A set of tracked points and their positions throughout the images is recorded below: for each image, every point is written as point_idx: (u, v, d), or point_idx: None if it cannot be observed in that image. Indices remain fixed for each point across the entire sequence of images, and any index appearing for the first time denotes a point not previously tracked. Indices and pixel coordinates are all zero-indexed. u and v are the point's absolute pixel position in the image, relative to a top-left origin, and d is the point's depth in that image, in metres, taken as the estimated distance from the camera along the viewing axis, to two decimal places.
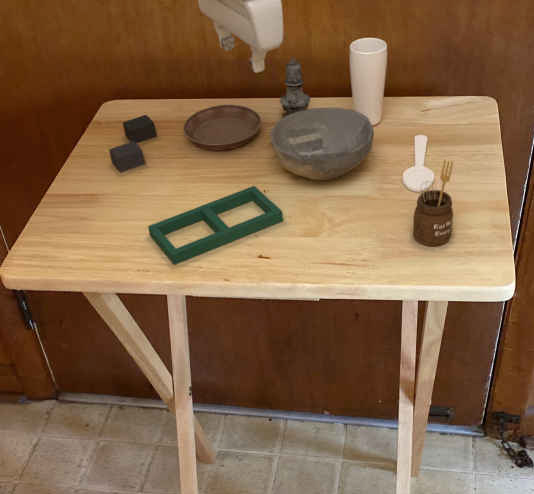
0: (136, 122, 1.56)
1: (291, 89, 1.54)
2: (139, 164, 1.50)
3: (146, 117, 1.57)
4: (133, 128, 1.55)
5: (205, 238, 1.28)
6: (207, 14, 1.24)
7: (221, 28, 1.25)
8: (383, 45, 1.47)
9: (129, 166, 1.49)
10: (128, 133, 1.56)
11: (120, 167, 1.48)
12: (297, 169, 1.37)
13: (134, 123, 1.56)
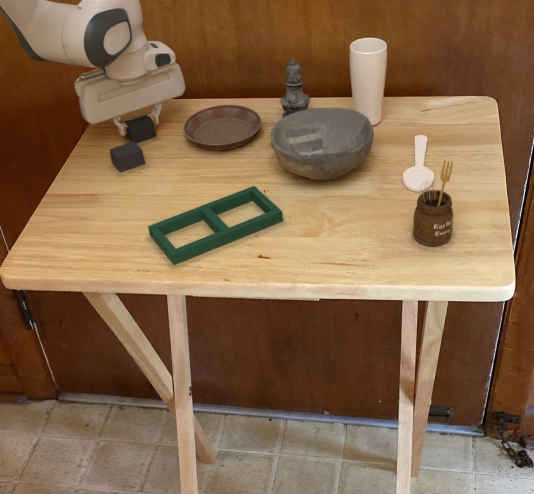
0: (136, 122, 1.56)
1: (291, 89, 1.54)
2: (139, 164, 1.50)
3: (146, 117, 1.57)
4: (133, 128, 1.55)
5: (205, 238, 1.28)
6: (105, 118, 1.50)
7: None
8: (383, 45, 1.47)
9: (129, 166, 1.49)
10: None
11: (120, 167, 1.48)
12: (297, 169, 1.37)
13: (134, 123, 1.56)
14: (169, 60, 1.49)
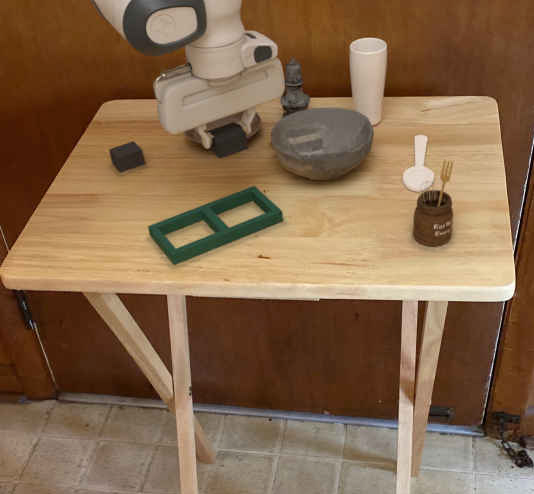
0: (223, 132, 1.26)
1: (291, 89, 1.54)
2: (139, 164, 1.50)
3: (235, 125, 1.27)
4: (221, 139, 1.24)
5: (205, 238, 1.28)
6: (189, 127, 1.20)
7: None
8: (383, 45, 1.47)
9: (129, 166, 1.49)
10: None
11: (120, 167, 1.48)
12: (297, 169, 1.37)
13: (221, 133, 1.26)
14: (270, 54, 1.18)
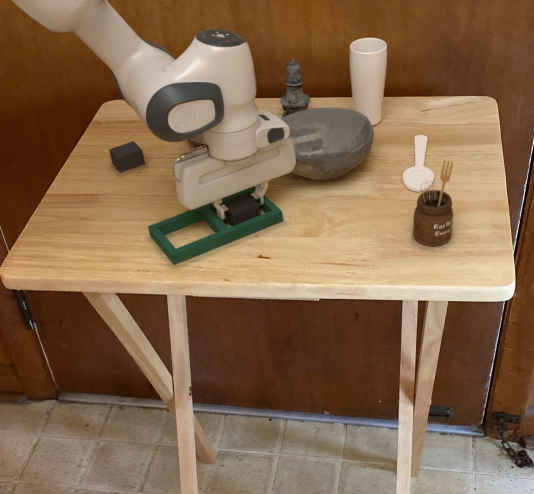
0: (238, 203, 1.33)
1: (291, 89, 1.54)
2: (139, 164, 1.50)
3: (248, 197, 1.34)
4: (235, 211, 1.32)
5: (205, 238, 1.28)
6: (205, 202, 1.27)
7: None
8: (383, 45, 1.47)
9: (129, 166, 1.49)
10: None
11: (120, 167, 1.48)
12: (297, 169, 1.37)
13: (235, 204, 1.33)
14: (283, 135, 1.26)
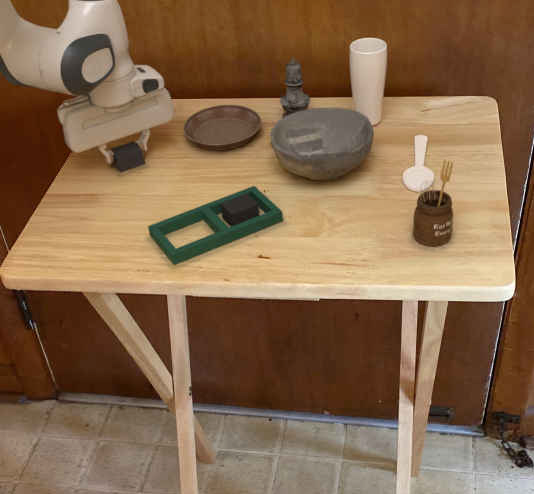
0: (237, 203, 1.33)
1: (291, 89, 1.54)
2: (139, 164, 1.50)
3: (247, 197, 1.34)
4: (235, 211, 1.32)
5: (205, 238, 1.28)
6: (90, 146, 1.43)
7: None
8: (383, 45, 1.47)
9: (129, 166, 1.49)
10: (227, 216, 1.33)
11: (120, 167, 1.48)
12: (297, 169, 1.37)
13: (234, 204, 1.33)
14: (157, 85, 1.41)
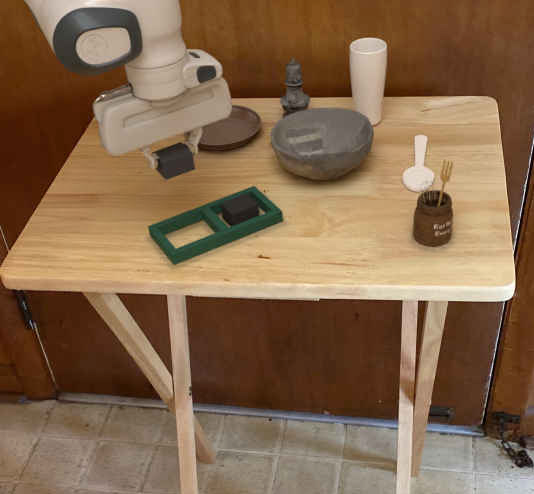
0: (237, 204, 1.33)
1: (291, 89, 1.54)
2: (188, 170, 1.24)
3: (247, 197, 1.34)
4: (235, 211, 1.32)
5: (205, 238, 1.28)
6: (131, 148, 1.17)
7: None
8: (383, 45, 1.47)
9: (176, 173, 1.23)
10: (227, 216, 1.33)
11: (166, 174, 1.22)
12: (297, 169, 1.37)
13: (234, 204, 1.33)
14: (214, 74, 1.15)
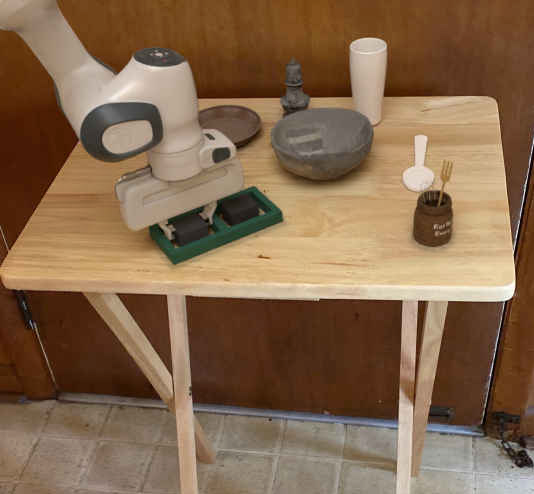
0: (237, 204, 1.33)
1: (291, 89, 1.54)
2: None
3: (247, 197, 1.34)
4: (235, 211, 1.32)
5: (205, 238, 1.28)
6: (150, 223, 1.24)
7: (164, 224, 1.27)
8: (383, 45, 1.47)
9: None
10: (227, 216, 1.33)
11: (182, 244, 1.29)
12: (297, 169, 1.37)
13: (234, 204, 1.33)
14: (228, 154, 1.22)
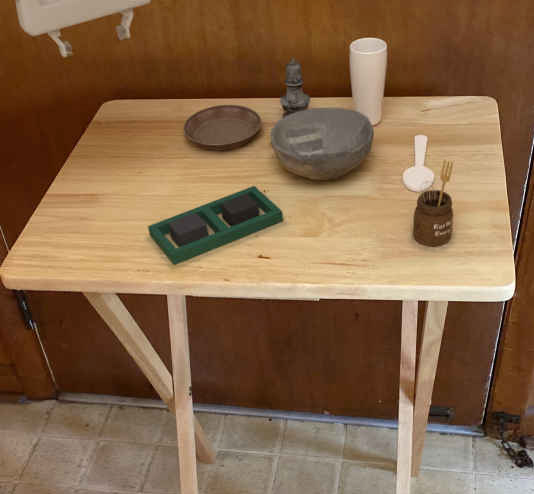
0: (237, 203, 1.33)
1: (291, 89, 1.54)
2: None
3: (247, 197, 1.34)
4: (235, 211, 1.32)
5: (205, 238, 1.28)
6: (49, 28, 1.18)
7: None
8: (383, 45, 1.47)
9: None
10: (227, 216, 1.33)
11: (181, 244, 1.29)
12: (297, 169, 1.37)
13: (234, 204, 1.33)
14: None
